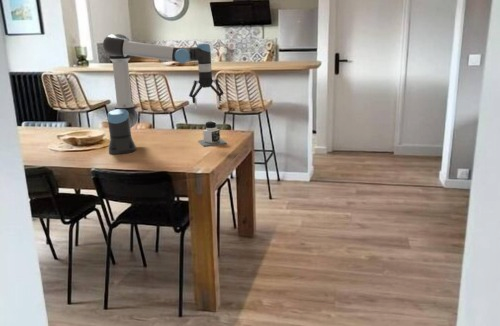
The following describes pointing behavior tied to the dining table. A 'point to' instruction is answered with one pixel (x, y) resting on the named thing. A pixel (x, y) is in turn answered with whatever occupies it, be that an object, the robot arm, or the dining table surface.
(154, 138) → the dining table surface
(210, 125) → the medicine bottle
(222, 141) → the slate coaster
